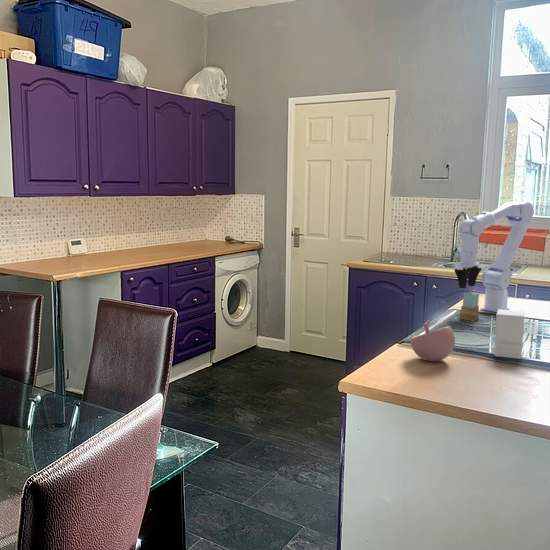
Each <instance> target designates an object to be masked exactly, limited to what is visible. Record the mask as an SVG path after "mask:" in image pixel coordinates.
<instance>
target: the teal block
mask: <svg viewBox="0 0 550 550" xmlns="http://www.w3.org/2000/svg"><path fill="white" fill-rule="evenodd" d="M479 297H480V294H479V292H473V291H467V292H464V293H463V298H462V299H463V300H462V306H463V307H469V308H475V307H478V306H479Z"/></svg>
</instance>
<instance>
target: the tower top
mask: <svg viewBox="0 0 550 550" xmlns="http://www.w3.org/2000/svg"><path fill="white" fill-rule="evenodd" d="M479 310H480V305H478V307H475V308H469V307H463V305H462V306H460V313H462V314H470V315H476V314H477V313H479V314H480V312H479Z"/></svg>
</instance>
